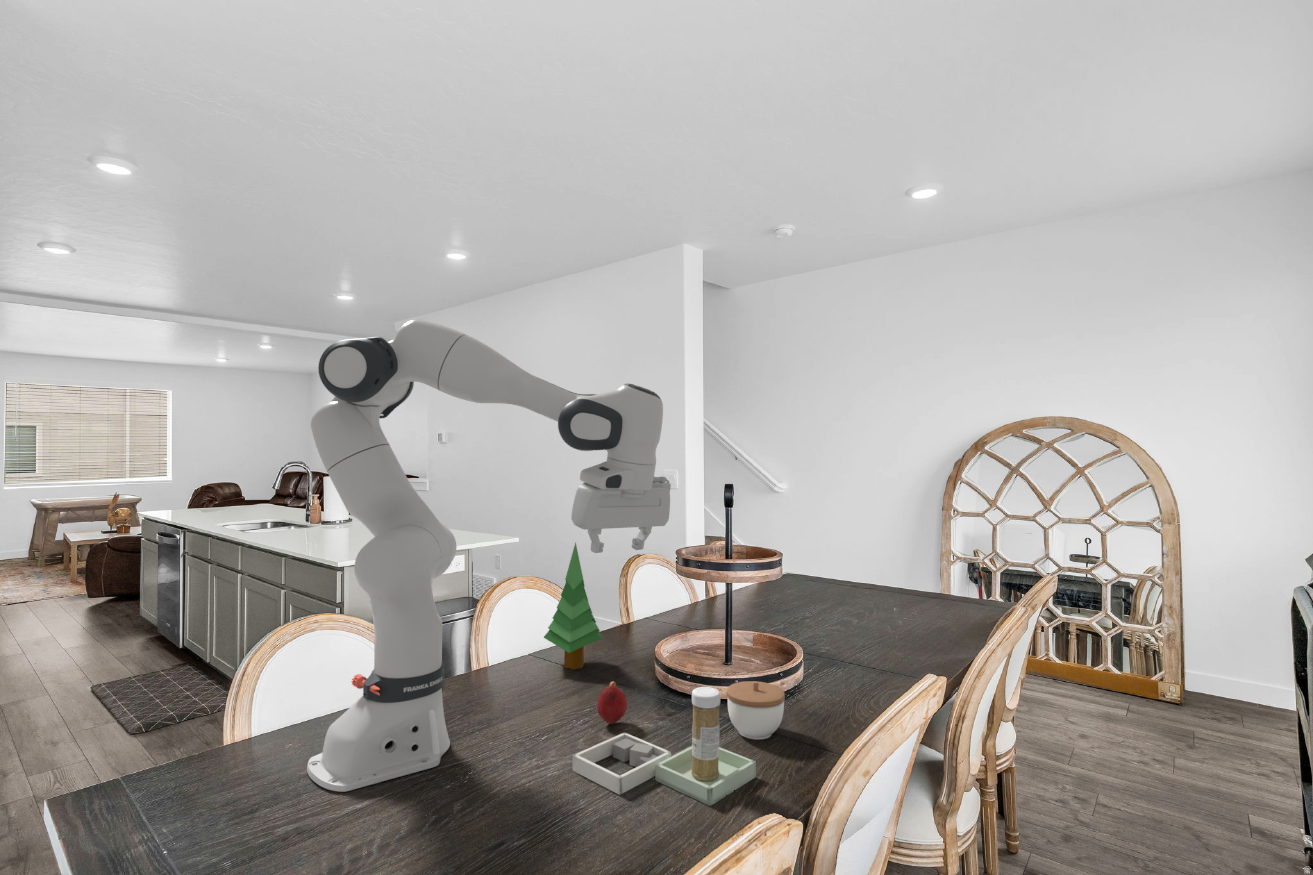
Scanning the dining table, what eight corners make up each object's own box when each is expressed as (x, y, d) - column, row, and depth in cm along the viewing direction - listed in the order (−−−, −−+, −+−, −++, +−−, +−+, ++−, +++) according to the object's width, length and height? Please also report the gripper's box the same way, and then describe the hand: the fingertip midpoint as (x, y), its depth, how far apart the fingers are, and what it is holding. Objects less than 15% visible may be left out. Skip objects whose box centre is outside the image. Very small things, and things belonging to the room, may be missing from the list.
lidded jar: (739, 748, 117) (740, 695, 117) (718, 723, 127) (718, 674, 127) (794, 741, 119) (795, 689, 120) (769, 718, 130) (769, 670, 130)
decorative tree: (582, 680, 150) (583, 548, 150) (530, 667, 158) (532, 542, 158) (616, 664, 161) (618, 541, 162) (566, 653, 170) (568, 536, 170)
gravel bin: (619, 794, 101) (619, 777, 101) (572, 770, 108) (572, 754, 108) (671, 767, 109) (671, 751, 109) (624, 746, 117) (624, 731, 117)
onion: (622, 732, 123) (623, 688, 123) (592, 729, 124) (593, 686, 124) (629, 719, 129) (630, 678, 129) (601, 716, 130) (601, 675, 130)
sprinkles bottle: (689, 768, 108) (689, 686, 108) (716, 767, 108) (717, 685, 108) (693, 783, 103) (694, 696, 103) (722, 781, 104) (722, 695, 104)
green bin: (710, 806, 98) (710, 789, 98) (655, 780, 105) (655, 764, 105) (755, 776, 106) (755, 761, 106) (702, 755, 114) (702, 740, 114)
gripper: (660, 473, 127) (649, 542, 129) (572, 470, 114) (561, 548, 115) (682, 480, 123) (670, 552, 124) (593, 478, 109) (581, 559, 110)
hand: (617, 550), depth 119 cm, fingers open, 8 cm apart
